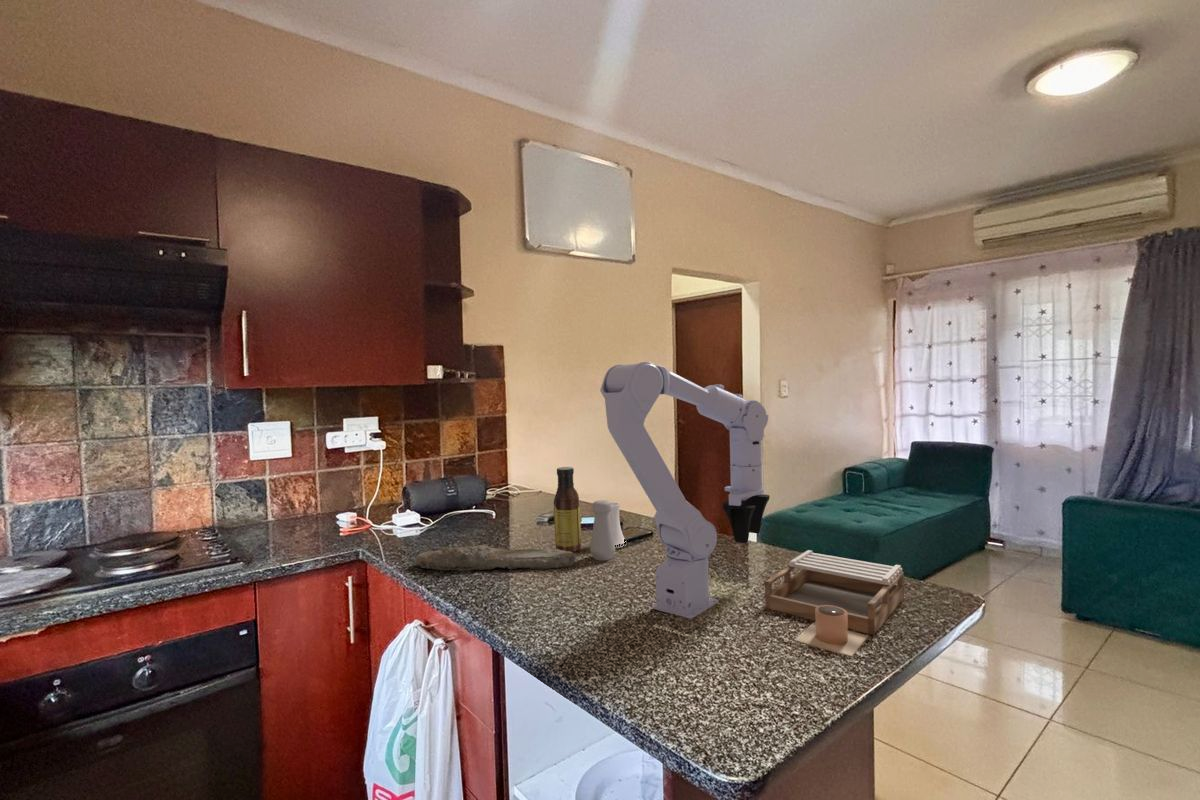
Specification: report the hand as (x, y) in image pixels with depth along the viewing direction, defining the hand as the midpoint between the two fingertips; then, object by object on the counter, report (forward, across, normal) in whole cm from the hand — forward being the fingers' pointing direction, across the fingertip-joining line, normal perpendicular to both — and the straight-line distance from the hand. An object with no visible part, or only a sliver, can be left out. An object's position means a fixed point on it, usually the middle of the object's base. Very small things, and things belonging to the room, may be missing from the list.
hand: (747, 537), depth 103 cm
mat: (+10, +15, +17) cm, 25 cm away
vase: (+10, -15, -39) cm, 43 cm away
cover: (+5, -5, +16) cm, 17 cm away
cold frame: (+10, 0, +15) cm, 18 cm away
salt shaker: (+10, -4, -35) cm, 36 cm away
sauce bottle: (+10, -6, -46) cm, 47 cm away
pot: (+9, +15, +17) cm, 24 cm away
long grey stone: (+10, +11, -53) cm, 55 cm away
